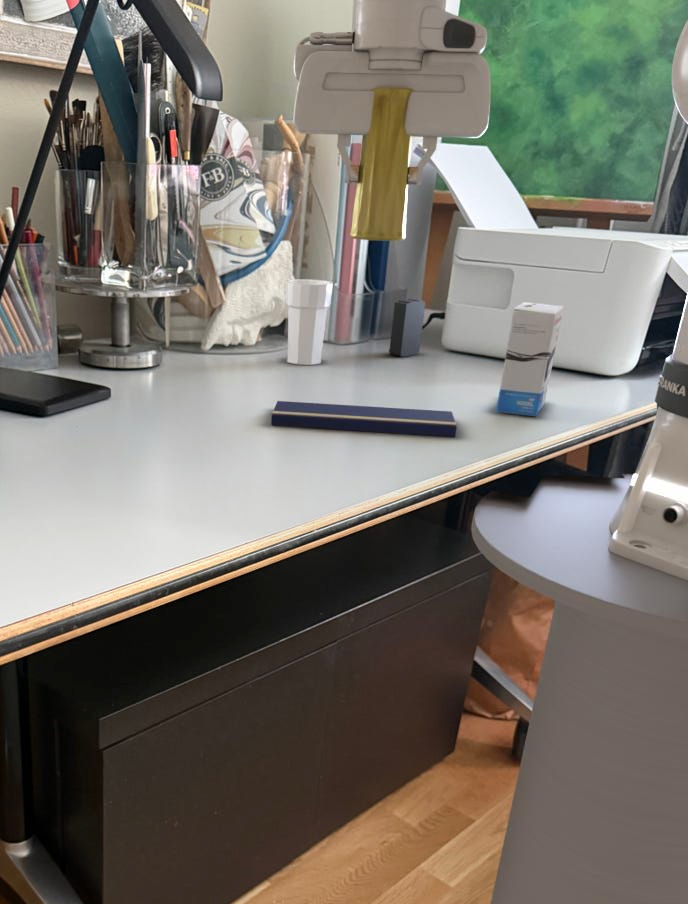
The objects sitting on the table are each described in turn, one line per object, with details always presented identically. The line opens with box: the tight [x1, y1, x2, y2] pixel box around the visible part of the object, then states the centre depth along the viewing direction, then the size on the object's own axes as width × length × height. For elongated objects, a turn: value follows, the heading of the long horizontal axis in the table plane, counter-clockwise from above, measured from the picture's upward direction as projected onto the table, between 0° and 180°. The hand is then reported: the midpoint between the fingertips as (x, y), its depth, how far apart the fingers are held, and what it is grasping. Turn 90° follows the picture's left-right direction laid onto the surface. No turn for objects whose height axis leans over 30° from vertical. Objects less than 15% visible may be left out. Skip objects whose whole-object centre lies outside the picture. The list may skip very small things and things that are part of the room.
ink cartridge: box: [388, 298, 426, 358], centre depth 143 cm, size 5×2×8 cm, turn 133°
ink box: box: [495, 301, 565, 417], centre depth 111 cm, size 8×5×12 cm, turn 155°
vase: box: [349, 88, 414, 242], centre depth 100 cm, size 6×6×14 cm
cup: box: [285, 278, 334, 366], centre depth 135 cm, size 7×7×11 cm
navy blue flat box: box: [270, 400, 458, 438], centre depth 105 cm, size 20×7×1 cm, turn 81°
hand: (382, 184), depth 101 cm, fingers closed on vase, 5 cm apart
